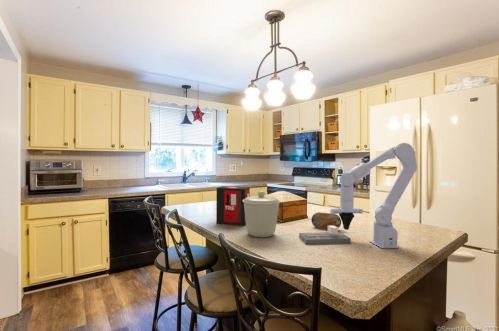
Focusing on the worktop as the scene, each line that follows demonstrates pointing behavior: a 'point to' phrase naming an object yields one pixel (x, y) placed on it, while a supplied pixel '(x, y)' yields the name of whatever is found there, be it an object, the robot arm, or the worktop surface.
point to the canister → (261, 214)
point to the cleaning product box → (231, 205)
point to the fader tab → (332, 230)
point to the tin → (325, 220)
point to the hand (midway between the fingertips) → (346, 229)
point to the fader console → (324, 238)
